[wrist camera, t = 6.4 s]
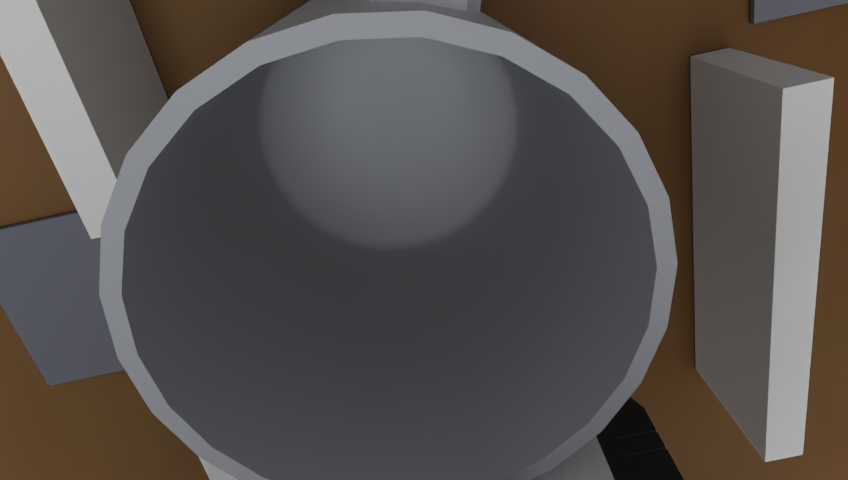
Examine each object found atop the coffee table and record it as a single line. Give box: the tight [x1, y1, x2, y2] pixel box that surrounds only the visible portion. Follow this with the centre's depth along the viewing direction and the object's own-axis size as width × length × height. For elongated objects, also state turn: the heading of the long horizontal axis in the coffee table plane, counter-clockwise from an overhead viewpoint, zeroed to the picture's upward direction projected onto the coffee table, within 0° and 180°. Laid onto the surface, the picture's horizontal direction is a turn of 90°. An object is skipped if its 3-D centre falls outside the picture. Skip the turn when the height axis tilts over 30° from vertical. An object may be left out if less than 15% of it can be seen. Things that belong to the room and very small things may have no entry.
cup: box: [99, 0, 678, 480], centre depth 11 cm, size 7×10×9 cm
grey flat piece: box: [0, 0, 848, 480], centre depth 13 cm, size 26×20×5 cm
